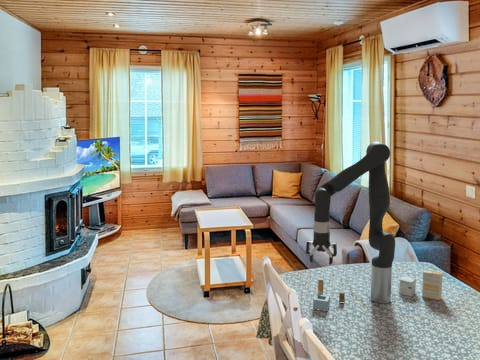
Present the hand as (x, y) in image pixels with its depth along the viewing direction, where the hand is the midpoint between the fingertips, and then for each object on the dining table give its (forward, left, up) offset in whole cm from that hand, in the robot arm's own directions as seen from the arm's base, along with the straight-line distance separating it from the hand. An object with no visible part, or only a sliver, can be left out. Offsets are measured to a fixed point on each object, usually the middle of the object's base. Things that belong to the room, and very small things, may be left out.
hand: (321, 263), depth 210 cm
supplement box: (-19, +50, -18) cm, 57 cm away
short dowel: (0, +10, -18) cm, 21 cm away
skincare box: (-21, +39, -18) cm, 48 cm away
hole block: (+9, +2, -18) cm, 20 cm away
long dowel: (0, 0, -18) cm, 18 cm away
